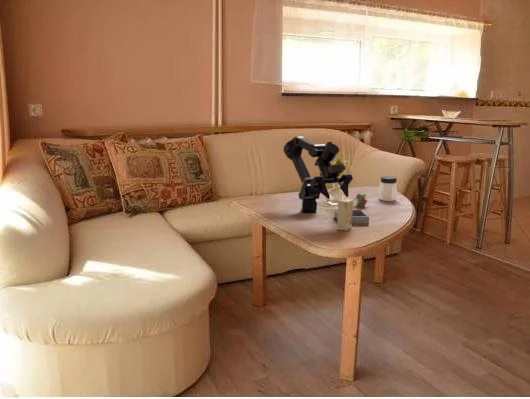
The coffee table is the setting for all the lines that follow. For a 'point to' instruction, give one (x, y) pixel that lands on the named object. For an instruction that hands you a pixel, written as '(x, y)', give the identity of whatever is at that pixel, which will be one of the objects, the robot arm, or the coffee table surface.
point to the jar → (388, 188)
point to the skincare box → (345, 214)
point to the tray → (357, 217)
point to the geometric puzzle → (361, 200)
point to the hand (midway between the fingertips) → (338, 197)
